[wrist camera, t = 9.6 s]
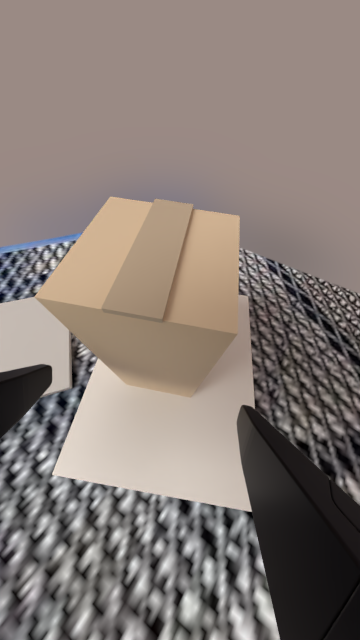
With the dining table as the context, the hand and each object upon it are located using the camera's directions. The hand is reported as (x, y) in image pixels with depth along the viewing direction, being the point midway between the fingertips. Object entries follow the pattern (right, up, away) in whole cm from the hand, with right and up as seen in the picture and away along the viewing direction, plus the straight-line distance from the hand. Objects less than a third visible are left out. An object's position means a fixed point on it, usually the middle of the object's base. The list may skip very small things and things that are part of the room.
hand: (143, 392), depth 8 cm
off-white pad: (+1, -1, +9) cm, 9 cm away
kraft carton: (0, 0, +8) cm, 8 cm away
